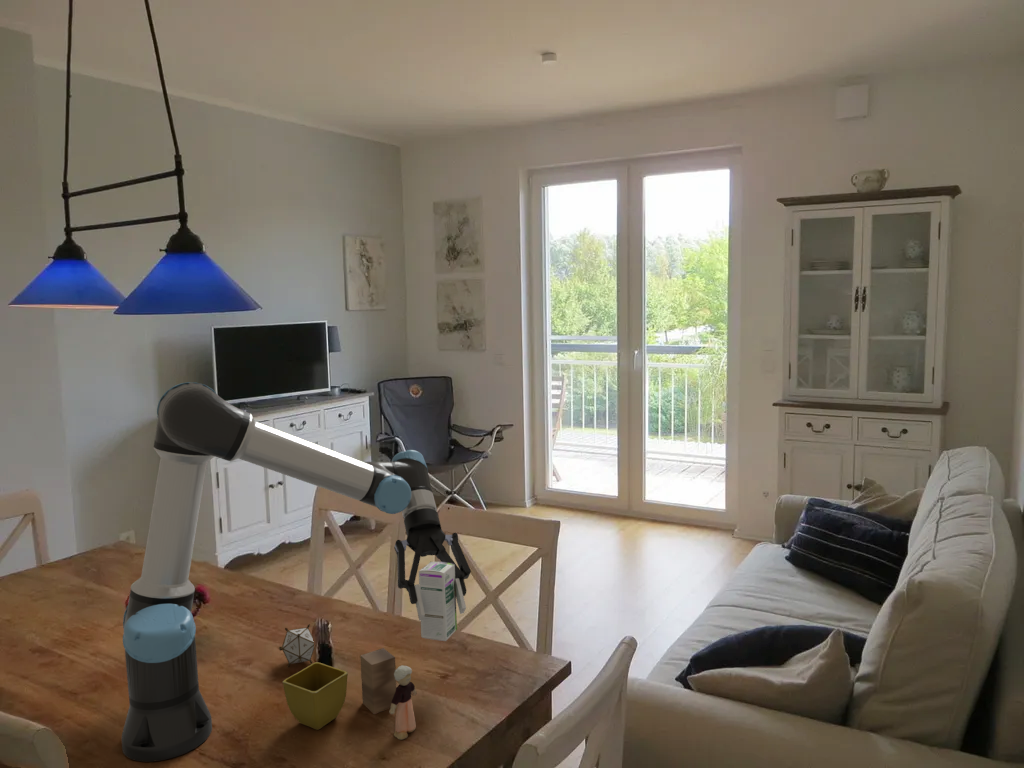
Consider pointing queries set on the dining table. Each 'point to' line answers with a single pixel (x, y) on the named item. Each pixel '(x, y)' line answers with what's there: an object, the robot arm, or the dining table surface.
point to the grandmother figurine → (403, 703)
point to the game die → (298, 645)
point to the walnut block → (378, 680)
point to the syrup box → (438, 600)
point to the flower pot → (316, 694)
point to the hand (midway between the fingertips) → (442, 614)
